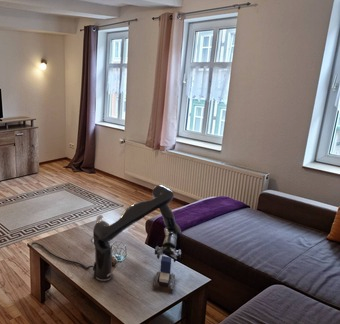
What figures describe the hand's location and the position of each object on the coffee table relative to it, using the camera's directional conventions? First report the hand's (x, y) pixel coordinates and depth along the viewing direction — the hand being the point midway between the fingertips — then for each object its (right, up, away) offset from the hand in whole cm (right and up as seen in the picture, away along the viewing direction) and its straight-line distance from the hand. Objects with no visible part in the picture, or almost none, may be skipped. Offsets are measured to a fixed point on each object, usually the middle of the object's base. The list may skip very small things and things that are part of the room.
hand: (166, 258), depth 181 cm
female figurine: (-34, -2, +44) cm, 56 cm away
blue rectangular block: (-1, -11, -1) cm, 11 cm away
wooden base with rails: (-1, -14, 0) cm, 14 cm away
